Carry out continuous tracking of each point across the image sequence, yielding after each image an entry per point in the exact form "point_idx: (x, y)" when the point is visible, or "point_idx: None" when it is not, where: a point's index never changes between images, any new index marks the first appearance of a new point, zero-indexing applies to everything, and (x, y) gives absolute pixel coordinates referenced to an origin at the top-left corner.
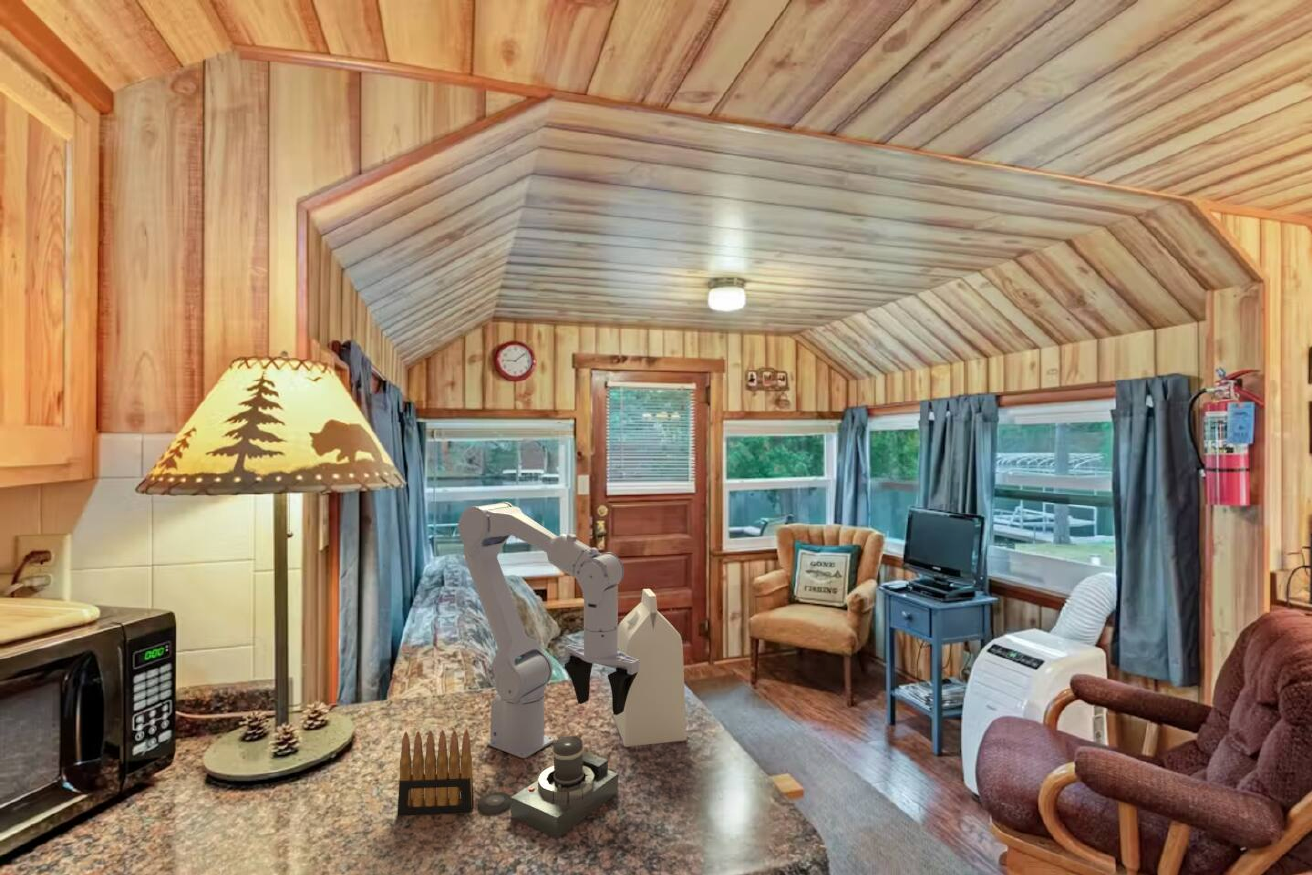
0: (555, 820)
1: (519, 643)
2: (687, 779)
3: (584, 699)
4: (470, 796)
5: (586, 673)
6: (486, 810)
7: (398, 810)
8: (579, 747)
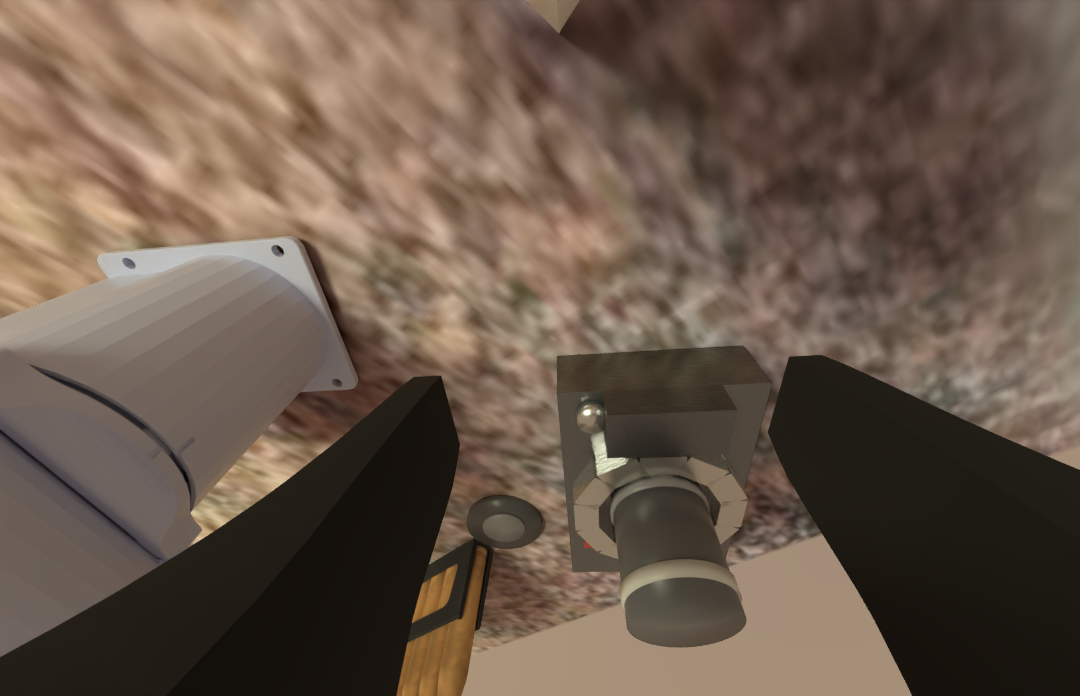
0: None
1: None
2: (1001, 96)
3: (445, 427)
4: (487, 583)
5: (321, 637)
6: (519, 546)
7: None
8: (744, 620)
